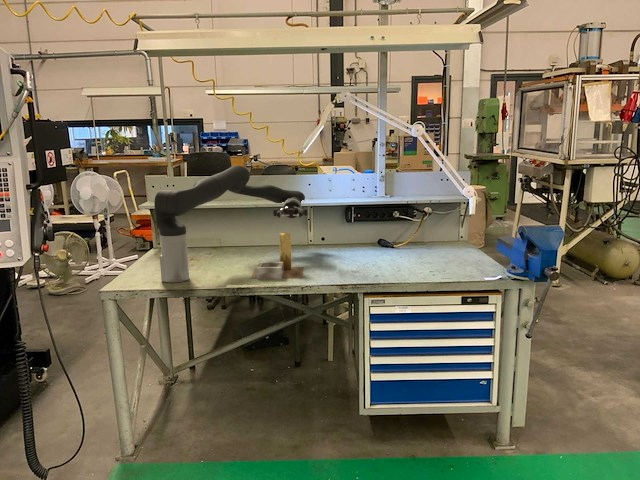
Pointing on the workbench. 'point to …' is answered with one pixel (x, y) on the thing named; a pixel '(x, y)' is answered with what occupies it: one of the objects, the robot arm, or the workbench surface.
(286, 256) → the golden metal peg
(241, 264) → the workbench surface
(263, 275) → the socket block
